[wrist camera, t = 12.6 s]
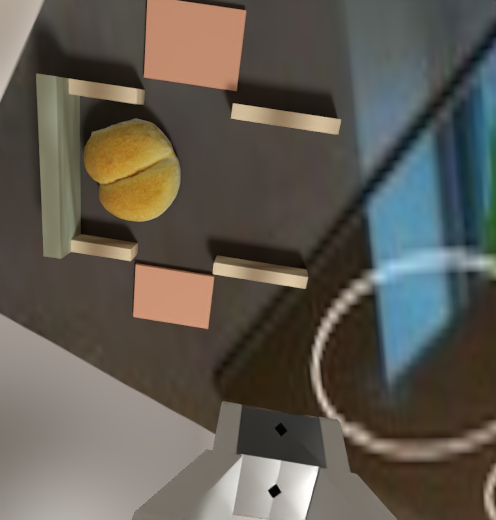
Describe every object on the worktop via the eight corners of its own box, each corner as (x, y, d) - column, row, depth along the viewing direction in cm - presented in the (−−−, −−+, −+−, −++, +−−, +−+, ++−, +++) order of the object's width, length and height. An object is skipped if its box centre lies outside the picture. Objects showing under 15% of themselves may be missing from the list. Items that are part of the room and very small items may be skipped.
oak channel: (337, 119, 35) (345, 120, 31) (304, 280, 40) (307, 297, 36) (61, 77, 35) (36, 73, 31) (65, 242, 41) (43, 256, 37)
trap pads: (246, 11, 32) (245, 10, 32) (208, 326, 43) (207, 328, 42) (149, -3, 33) (147, -5, 32) (134, 315, 43) (133, 316, 43)
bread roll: (118, 226, 40) (102, 238, 36) (81, 136, 37) (59, 138, 33) (196, 203, 39) (187, 213, 35) (163, 108, 36) (150, 108, 32)
